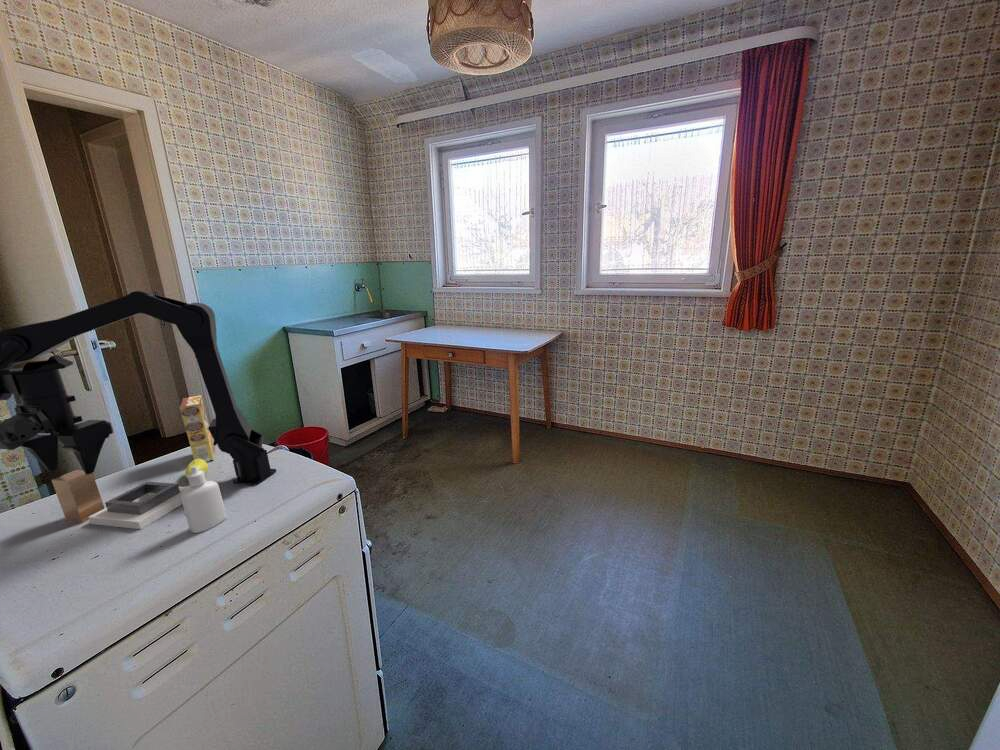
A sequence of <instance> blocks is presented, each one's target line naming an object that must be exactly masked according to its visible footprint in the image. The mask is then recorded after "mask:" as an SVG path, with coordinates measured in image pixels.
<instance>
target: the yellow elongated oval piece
mask: <svg viewBox="0 0 1000 750" xmlns="http://www.w3.org/2000/svg"><path fill="white" fill-rule="evenodd" d="M192 466H196V467H197V469H198V470H199V471H204V475H205V474H206V473H207V472H208V470H209V465H208V462H206V461H204V460H202V459H195V460H194V459H193V460H192V461H191V462H189V464H188V465H187V467H186V469H185V473H184V476H185V477H186V479H187V480H188V477H187V476H188V475H189V474H190V473H191V467H192Z"/></svg>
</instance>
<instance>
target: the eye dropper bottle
mask: <svg viewBox="0 0 1000 750" xmlns="http://www.w3.org/2000/svg"><path fill="white" fill-rule="evenodd" d="M187 477H188V479H187V481H188V483H189V486H188V487H189V488H188V489H186V490H185V491H184V492H183V493H182V495H181V499H182V503H183V504H182V505H183V506H182V507H183V510H184V514H185V517H186V521H187V524H188V529H189V531H191V532H192V533H193V534H199V533H203V532H205V531H208V530H210V529H212V528H214V527H216V526H218V525H220V524H221V523H223V522H224V521H225V520H226V519H227V513H226V509H225V505H224V501H223V497H222V494H221V490H220V486H219V483H217V482H216V481H214V480H207V479H206V476H205V474H204V471H199V470H198V469H197V467H196V466H192V467H191V473H190V474H189V475H188V476H187ZM187 477H186V478H187Z"/></svg>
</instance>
